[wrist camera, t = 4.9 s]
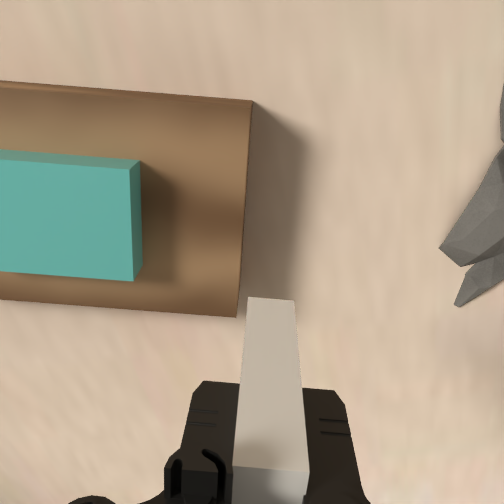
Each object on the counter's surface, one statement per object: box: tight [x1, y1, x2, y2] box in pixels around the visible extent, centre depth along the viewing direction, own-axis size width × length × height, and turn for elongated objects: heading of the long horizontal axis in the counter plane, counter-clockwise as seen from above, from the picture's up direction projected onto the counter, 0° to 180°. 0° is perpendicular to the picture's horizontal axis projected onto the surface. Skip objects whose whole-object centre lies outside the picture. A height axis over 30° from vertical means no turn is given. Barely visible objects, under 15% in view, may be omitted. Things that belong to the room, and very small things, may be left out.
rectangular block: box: [0, 149, 143, 281], centre depth 24 cm, size 6×9×2 cm, turn 86°
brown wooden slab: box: [0, 81, 253, 318], centre depth 26 cm, size 12×19×4 cm, turn 86°
